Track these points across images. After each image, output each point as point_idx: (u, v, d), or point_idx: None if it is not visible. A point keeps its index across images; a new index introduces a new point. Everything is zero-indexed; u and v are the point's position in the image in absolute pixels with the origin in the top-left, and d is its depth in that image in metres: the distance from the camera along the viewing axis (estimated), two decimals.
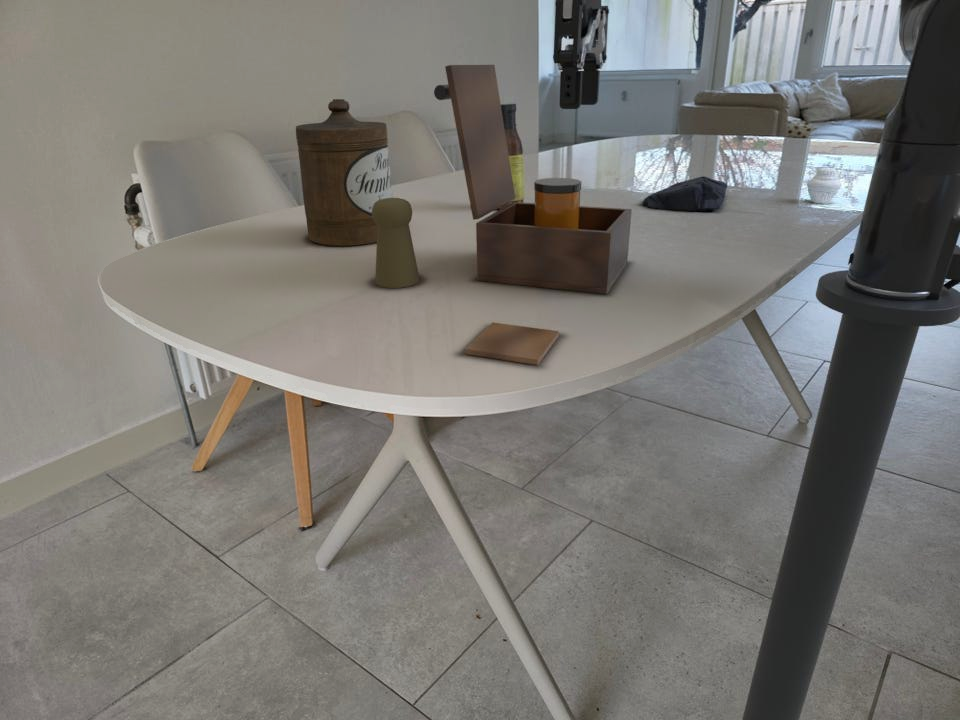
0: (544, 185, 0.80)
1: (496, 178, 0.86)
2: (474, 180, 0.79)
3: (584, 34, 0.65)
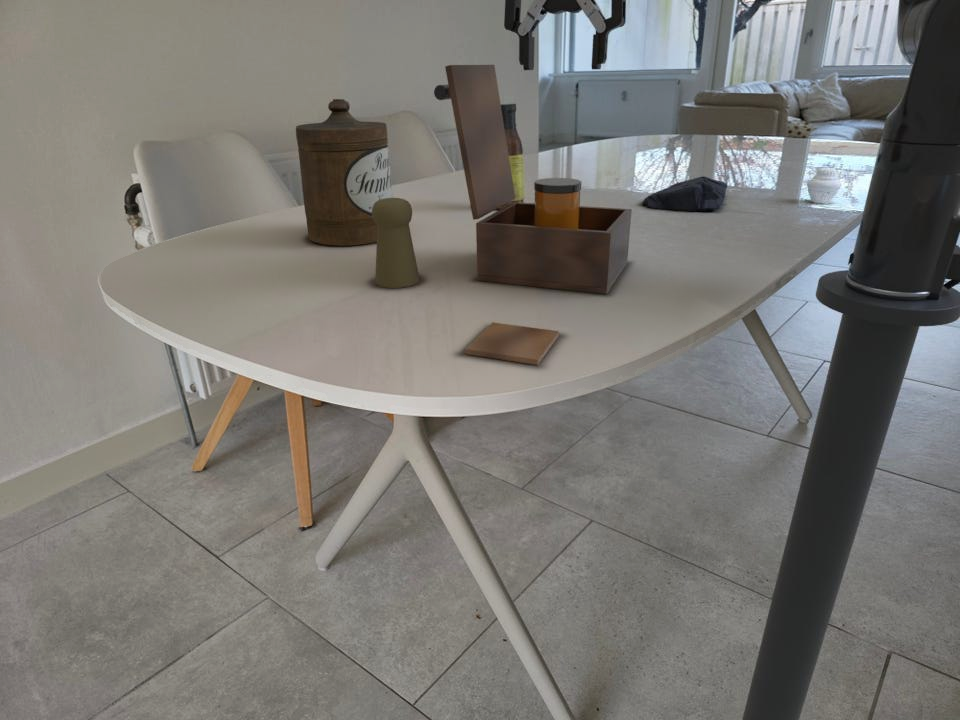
0: (544, 185, 0.80)
1: (496, 178, 0.86)
2: (474, 180, 0.79)
3: None
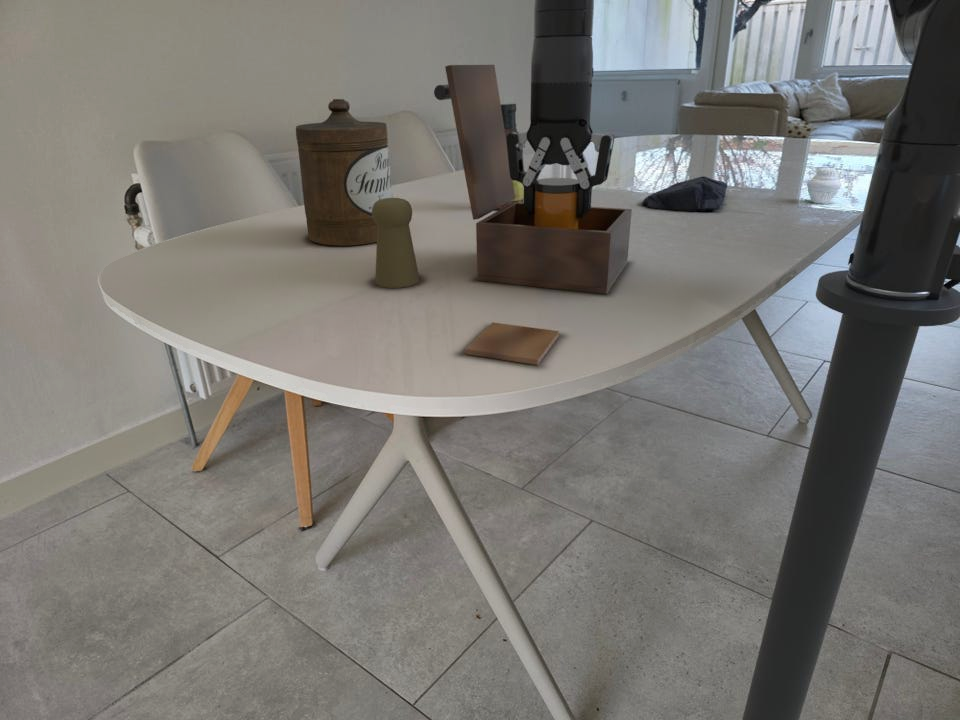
0: (544, 185, 0.80)
1: (496, 178, 0.86)
2: (474, 180, 0.79)
3: None
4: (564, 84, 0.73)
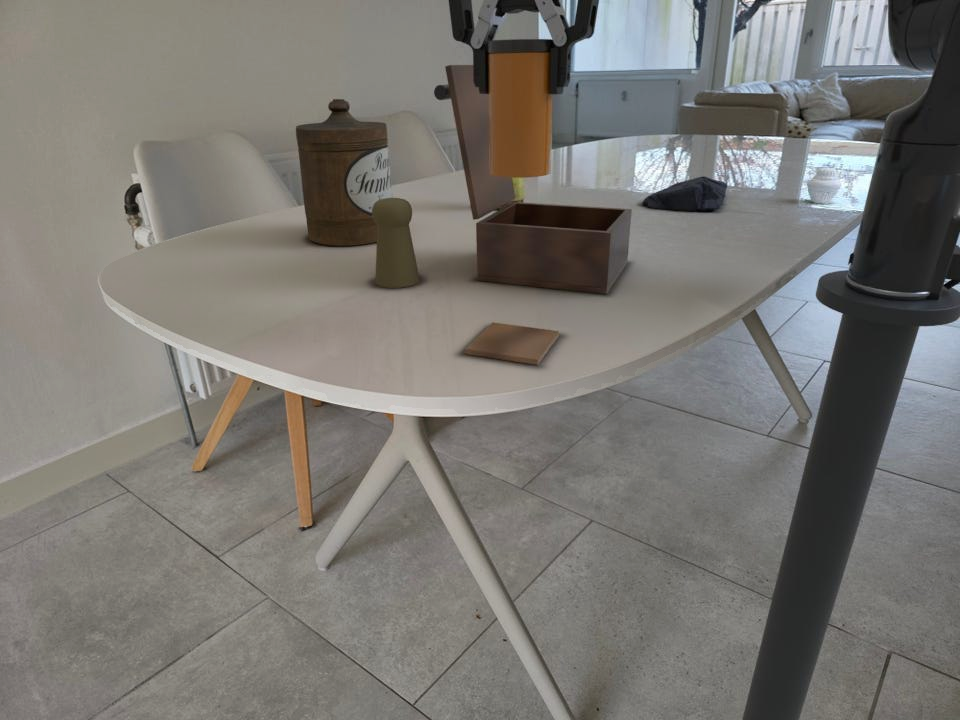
0: (499, 41, 0.54)
1: (496, 178, 0.86)
2: (474, 180, 0.79)
3: None
4: None
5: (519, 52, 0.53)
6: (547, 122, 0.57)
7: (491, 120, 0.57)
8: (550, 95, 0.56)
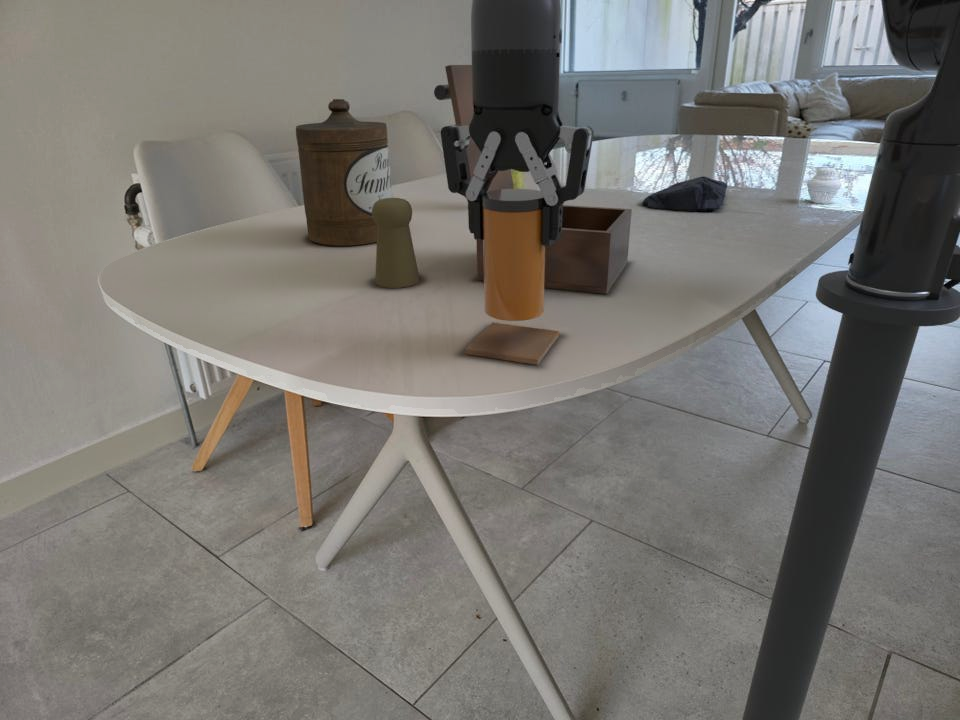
0: (493, 200, 0.56)
1: (496, 178, 0.86)
2: None
3: None
4: (516, 52, 0.49)
5: (512, 212, 0.55)
6: (540, 270, 0.59)
7: (486, 267, 0.59)
8: None
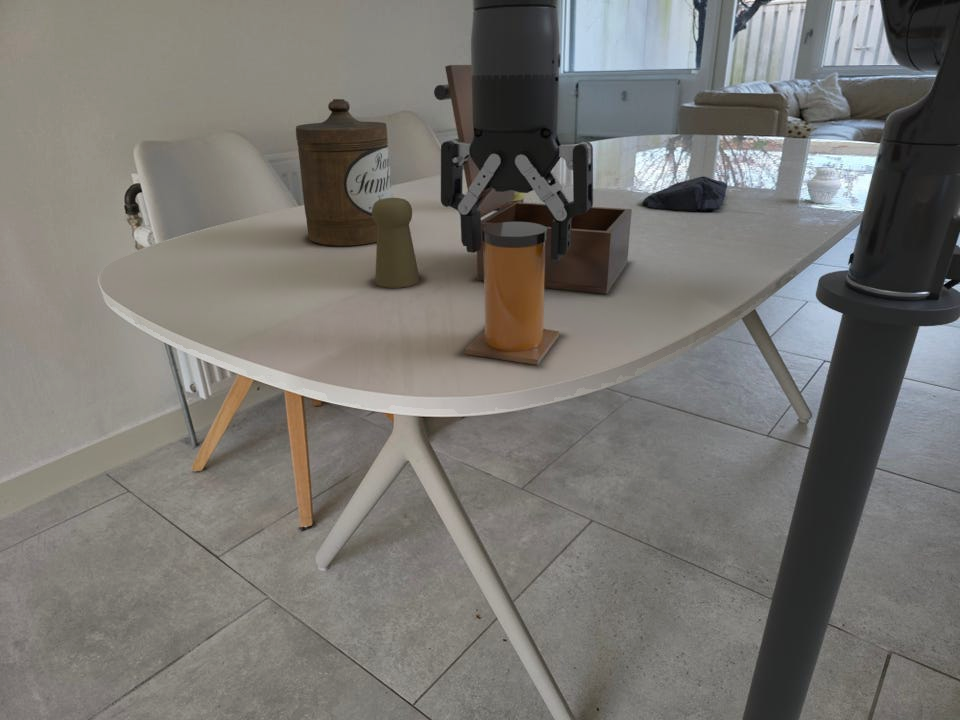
0: (494, 235, 0.57)
1: None
2: None
3: None
4: (516, 77, 0.50)
5: (512, 247, 0.57)
6: (539, 302, 0.60)
7: (486, 298, 0.61)
8: (542, 278, 0.60)
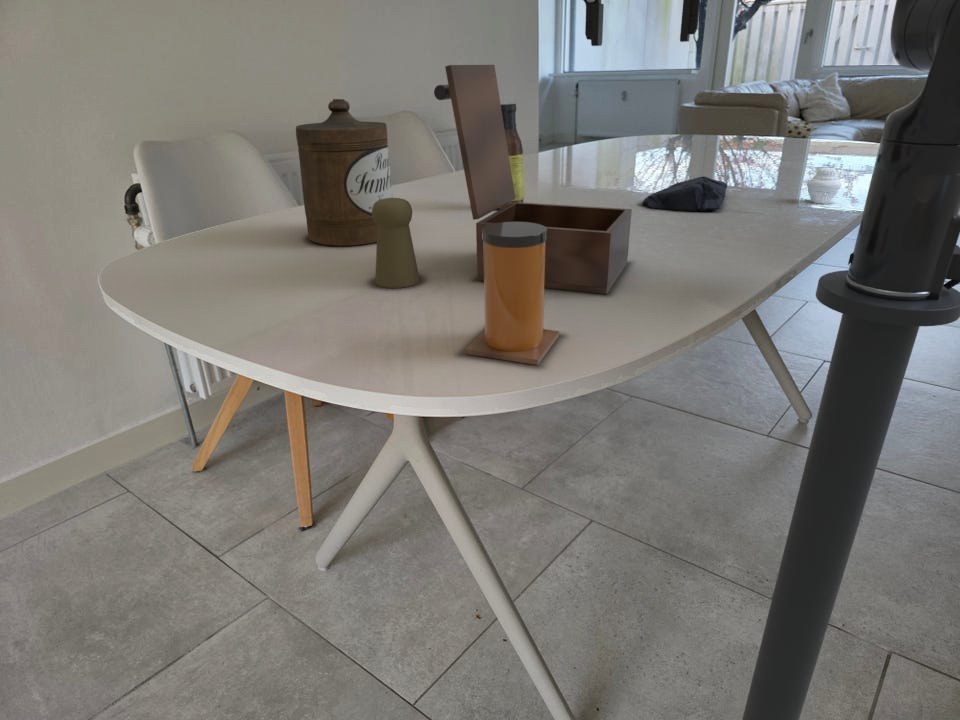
0: (494, 235, 0.57)
1: (496, 178, 0.86)
2: (474, 180, 0.79)
3: None
4: None
5: (513, 247, 0.57)
6: (539, 302, 0.60)
7: (486, 298, 0.61)
8: (542, 278, 0.60)
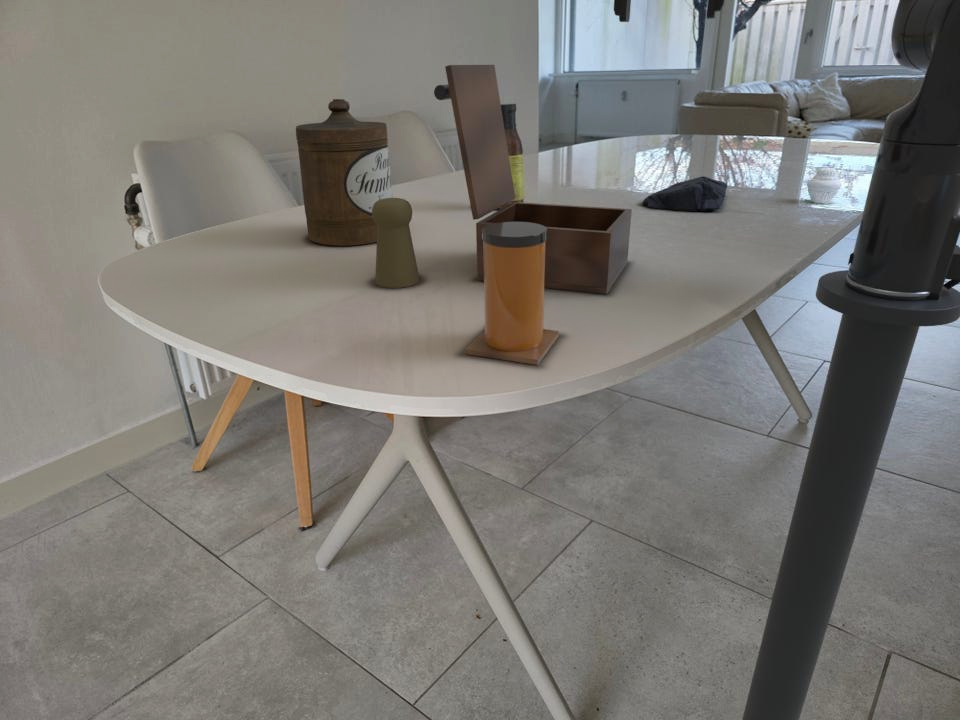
0: (494, 235, 0.57)
1: (496, 178, 0.86)
2: (474, 180, 0.79)
3: None
4: None
5: (512, 247, 0.57)
6: (539, 302, 0.60)
7: (486, 298, 0.61)
8: (542, 278, 0.60)
